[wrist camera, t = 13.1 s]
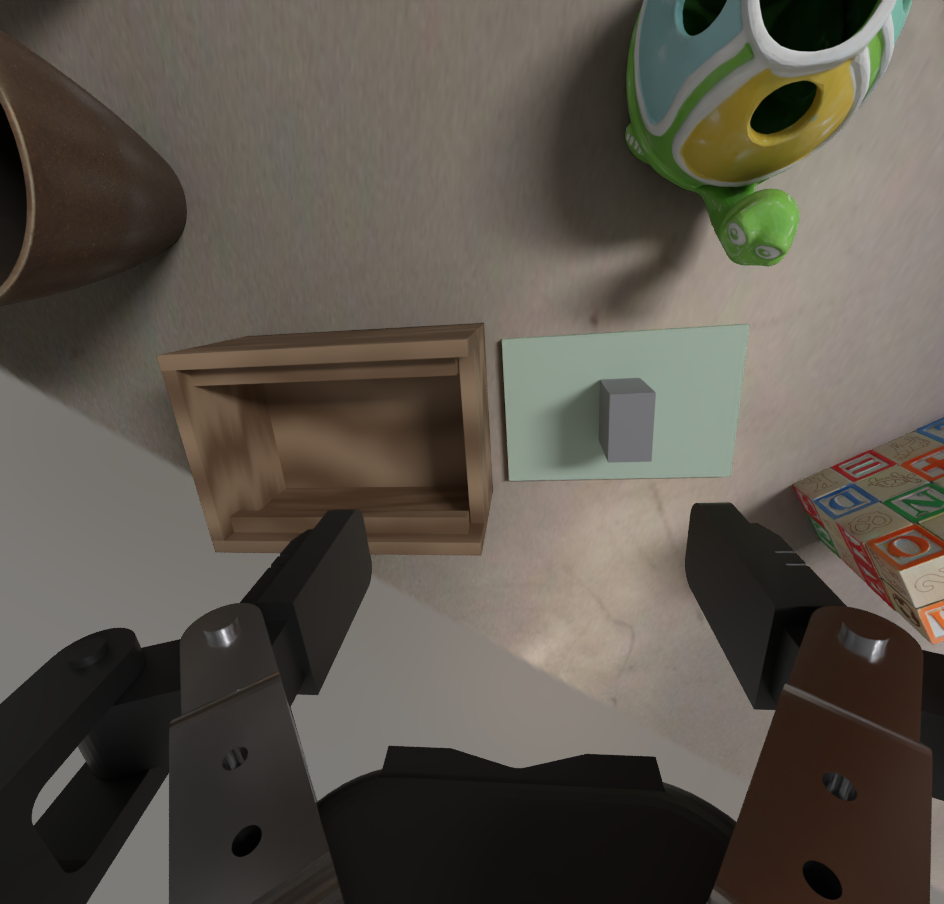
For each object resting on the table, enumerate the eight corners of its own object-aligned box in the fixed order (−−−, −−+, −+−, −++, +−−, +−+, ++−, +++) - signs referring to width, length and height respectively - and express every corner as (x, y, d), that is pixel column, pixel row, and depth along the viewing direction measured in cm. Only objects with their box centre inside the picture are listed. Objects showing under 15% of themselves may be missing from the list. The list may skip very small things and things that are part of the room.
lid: (502, 337, 37) (497, 349, 31) (742, 322, 35) (784, 332, 29) (509, 475, 41) (506, 507, 35) (724, 470, 39) (758, 504, 33)
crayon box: (247, 336, 39) (156, 355, 29) (483, 322, 36) (466, 339, 27) (283, 492, 44) (215, 552, 35) (492, 491, 41) (481, 555, 32)
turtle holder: (616, 278, 34) (657, 279, 23) (619, -41, 28) (678, -250, 17) (799, 260, 32) (939, 252, 21) (846, -86, 26) (1079, -353, 15)
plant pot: (206, 69, 32) (-69, -105, 18) (256, 293, 38) (76, 304, 23) (23, 98, 35) (-359, -37, 20) (95, 306, 40) (-166, 324, 25)
